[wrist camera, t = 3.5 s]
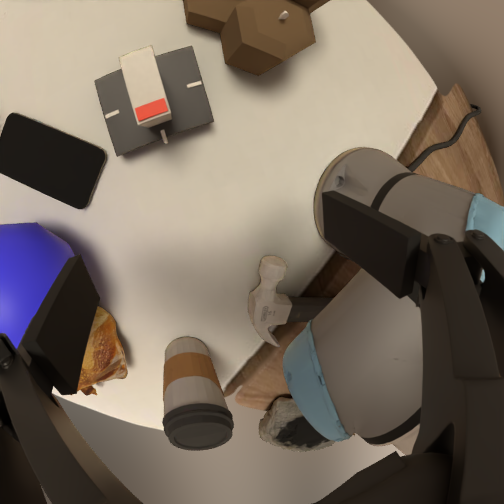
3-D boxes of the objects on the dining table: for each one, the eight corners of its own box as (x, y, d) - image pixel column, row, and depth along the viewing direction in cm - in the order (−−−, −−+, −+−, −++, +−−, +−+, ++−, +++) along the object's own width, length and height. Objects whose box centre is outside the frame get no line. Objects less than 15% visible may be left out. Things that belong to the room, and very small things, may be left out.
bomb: (17, 213, 26) (2, 338, 25) (-54, 196, 12) (-58, 376, 11) (118, 243, 31) (96, 377, 30) (76, 240, 16) (63, 445, 15)
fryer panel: (188, 49, 23) (190, 40, 20) (211, 127, 28) (216, 127, 25) (100, 80, 22) (92, 75, 19) (124, 159, 26) (118, 162, 24)
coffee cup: (151, 335, 36) (153, 426, 23) (209, 325, 38) (232, 413, 25) (166, 373, 40) (175, 455, 26) (217, 364, 41) (240, 444, 28)
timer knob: (133, 77, 21) (117, 56, 13) (157, 69, 21) (151, 43, 14) (148, 127, 23) (137, 125, 16) (172, 119, 23) (171, 112, 16)
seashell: (2, 330, 24) (68, 311, 24) (28, 303, 31) (94, 280, 31) (66, 414, 30) (140, 412, 30) (81, 383, 37) (150, 375, 37)
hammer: (410, 268, 45) (258, 253, 35) (422, 276, 42) (266, 265, 32) (382, 327, 50) (237, 335, 40) (391, 337, 47) (243, 350, 37)
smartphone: (84, 212, 27) (-10, 168, 20) (86, 210, 27) (-7, 168, 21) (108, 151, 25) (9, 110, 18) (110, 150, 25) (12, 110, 19)
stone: (397, 393, 48) (375, 390, 58) (272, 388, 47) (264, 383, 56) (385, 454, 43) (364, 444, 52) (259, 458, 42) (253, 443, 51)
